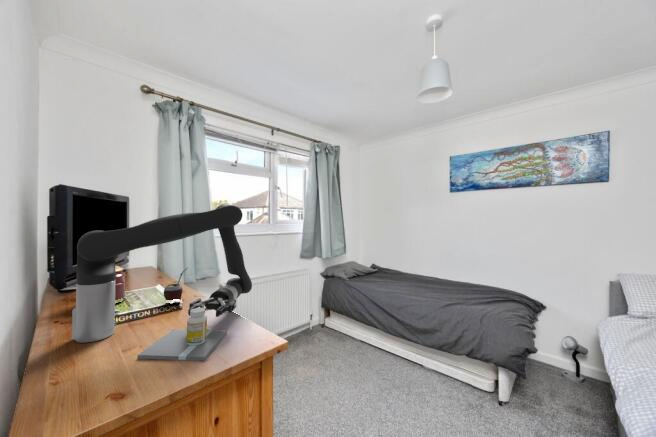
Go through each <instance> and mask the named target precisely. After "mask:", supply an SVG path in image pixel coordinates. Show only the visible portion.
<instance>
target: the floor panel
mask: <svg viewBox="0 0 656 437" xmlns="http://www.w3.org/2000/svg"><path fill="white" fill-rule="evenodd" d="M227 335H228V330H211V329H210V330H209V329H207V335H206V341H205V342H204V343H203V344H200V345H196V346H190V345H188V344H187V329H172V330H170V331H169V332H167V333H166V334H165V335H163V336H161V338H158V340H155V342H153V343H152V344H151V345H149V346H148V347H146V348H145V349H144V350H142V351H141V352H139V353H138V354H137V359H138V360H168V361H169V360H173V361H175V360H176V361H177V360H178V361H202V362H203V361H205V360H206V359H207V358H208V357H209V356H210V355H211V354H212V353H213V351H214V350H215V349H216V347H217V346H218V345H219V344H220V343H221V341H222V340H223V339H224V338H225V337H227Z"/></svg>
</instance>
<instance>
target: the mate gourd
mask: <svg viewBox="0 0 656 437" xmlns="http://www.w3.org/2000/svg"><path fill="white" fill-rule="evenodd" d="M186 270H188V267H186V268H185V269H184V270H182V272H181V273H180V274H179V275H180V276H179V277H178V278H179V279H178V280H177V283H170V284H167V285H166V286H165V288H164V290H163V297H164V300H165V301H166V300H173V299H180V301H181V300H182V296H183V286H182V285H181V284H179V283H180V281H181V278H182V277H183V275H184V272H185V271H186Z"/></svg>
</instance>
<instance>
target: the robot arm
mask: <svg viewBox="0 0 656 437" xmlns="http://www.w3.org/2000/svg"><path fill="white" fill-rule="evenodd" d="M242 219H243V212H242V209H241V208H240V207H238V205H235V204H231V203H228V204H227V203H224V204H223V203H222V204H220V205H219V204H218V206H217V207H216V208H214V209H211V210H208V211H207V210H206V211H201V212H187V213H185V212H184V213H179V214H178V213H176V214H172V215H166V216H163V217H159V218H155V219H151V220H149V221H146V222H143V223H140V224H138V225H134V226H130V227H126V228H120V229H114V230H113V229H112V230H98V229H97V230H90V231H88V232H86V233H84V234H83V235H82V236H81V237H79V239H78V242H77V244H76V250H77V251H76V255H77V256H76V276H75V277H76V278H75V280H76V287H75V290H76V291H75V294H76V295H75V307H74V308H73V309H72V310H71V311H72V312H71V315H72V316H71V322H72V323H71V326H72V327H71V341H75V342H77V343H92V342H97V341H101V340H103V339H106V338H108V337H111V336H113V334H114V333H115V322H116V320H115V314H116V311H115V310H116V305H115V277H116V271H115V266H116V256H119V255H122V254H124V253H128V252H132V251H134V250H137V249H143V248H149V247H153V246H157V245H163V244H168V243H172V242H176V241H179V240H183V239H186V238H189V237H192V236H196V235H199V234H202V233H206V232H207V231H212V230H218V233H219V235H220V239H221V242H222V245H223V252H224V256H225V262H226V268H227V272H228V273H229V274H230V275H234V276H237V277H232V278H230V279H228V280H227V281H226V284H225V285H224V286H221V287H220V288H218V289H216V290H215V291H213V292H212V293H211V294H210V296H209V297H208V298H207V299H204V300H202V298H199V297H198V298H197V299H195V300H193V301H192V302H190V303H189V304H188V305H189V306H188V310H187V311H188V312H187V314H188V316H189V317H191V316H190V311H191V310H192V309H195V308H204V309H205V312H207V311H215V317H217V318H219V317H221V316H222V315H223V314H225V313H227V312H228V313H229V314H230V313H233V311H234V310H235V309H236V308H237V300H238V298H239V297H240V296H241V294H242V295H243V294H248V293H250V292H251V291H252V288H253V282H252V280H251V279H252V278H251V277H250V276H249V273H248V272H247V269H246V266H245V260H244V255H243V251H242V248H241V246H240V243H239V241H238V238H237V236H236V231H235V226H236V225H238V224H240V222H241V220H242Z"/></svg>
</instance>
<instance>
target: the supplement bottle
mask: <svg viewBox="0 0 656 437" xmlns="http://www.w3.org/2000/svg"><path fill="white" fill-rule="evenodd" d="M205 314H206V311H205V307H204V308H200V307H198V308H195V309H192V310H191V311H190V316H189V317H188V318H187V322H186V330H187V344H188V345H190V346H196V345H200V344H203V343H204V342H205V341H206V335H207V330H208V328H207V327H208V317H207V315H205Z"/></svg>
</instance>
